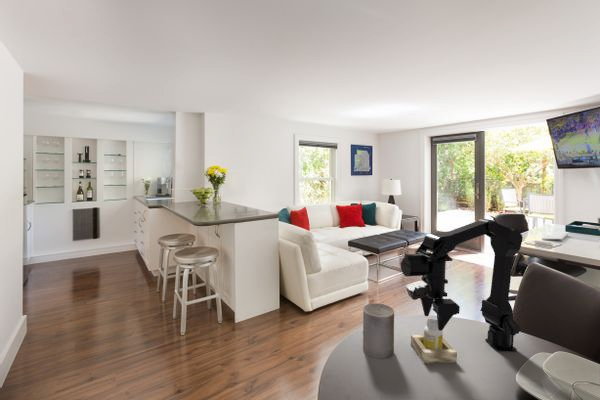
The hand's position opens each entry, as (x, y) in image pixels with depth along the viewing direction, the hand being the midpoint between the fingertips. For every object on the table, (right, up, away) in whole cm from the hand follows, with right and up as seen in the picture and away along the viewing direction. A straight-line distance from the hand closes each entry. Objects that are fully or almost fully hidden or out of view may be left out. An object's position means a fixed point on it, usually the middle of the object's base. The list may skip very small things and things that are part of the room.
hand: (433, 322), depth 92 cm
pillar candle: (-17, -10, +2) cm, 20 cm away
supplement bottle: (0, -10, +1) cm, 10 cm away
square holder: (0, -10, +1) cm, 10 cm away
